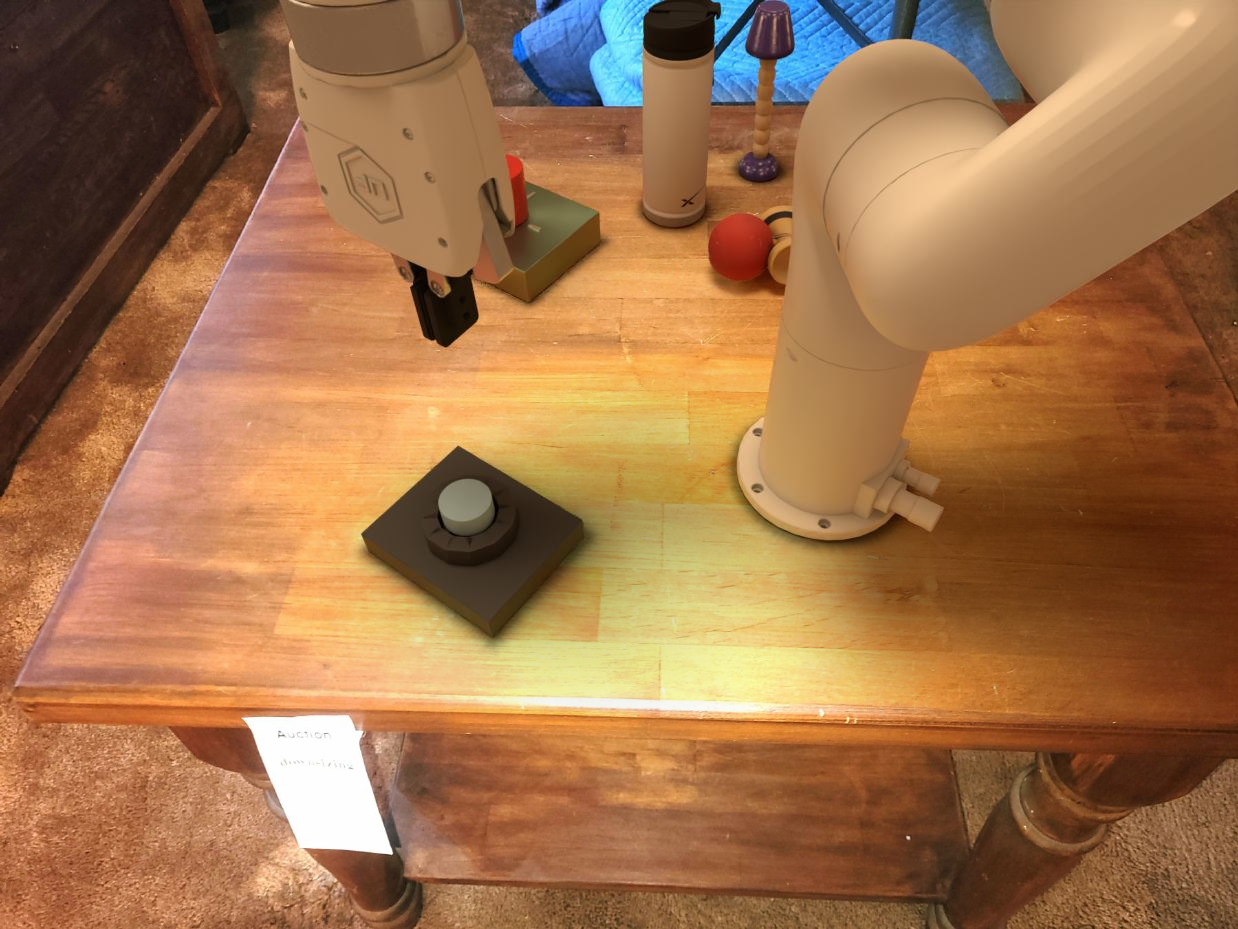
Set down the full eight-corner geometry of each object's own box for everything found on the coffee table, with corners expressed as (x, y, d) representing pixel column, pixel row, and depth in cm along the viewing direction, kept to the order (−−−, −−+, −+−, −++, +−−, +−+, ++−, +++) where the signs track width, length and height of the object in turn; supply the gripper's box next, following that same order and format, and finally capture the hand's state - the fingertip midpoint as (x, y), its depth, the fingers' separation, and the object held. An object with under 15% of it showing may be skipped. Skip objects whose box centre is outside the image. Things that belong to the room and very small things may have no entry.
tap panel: (601, 242, 85) (599, 210, 83) (528, 303, 80) (524, 270, 77) (493, 195, 91) (488, 163, 88) (418, 249, 85) (410, 217, 83)
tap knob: (538, 211, 83) (532, 160, 79) (507, 234, 81) (500, 183, 77) (503, 195, 85) (496, 145, 81) (472, 218, 82) (463, 167, 78)
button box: (584, 537, 63) (581, 504, 60) (493, 638, 58) (484, 608, 55) (462, 463, 68) (454, 429, 65) (368, 551, 63) (353, 518, 60)
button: (505, 509, 61) (502, 494, 59) (470, 545, 59) (466, 530, 58) (467, 486, 62) (463, 470, 61) (431, 519, 60) (427, 504, 59)
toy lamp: (726, 172, 93) (739, 9, 80) (748, 152, 95) (764, -10, 82) (766, 186, 91) (786, 21, 78) (787, 165, 93) (810, 2, 80)
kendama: (875, 244, 86) (697, 236, 84) (902, 195, 81) (712, 185, 78) (892, 306, 83) (706, 299, 80) (921, 259, 77) (722, 251, 74)
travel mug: (703, 231, 86) (716, 23, 71) (637, 224, 87) (636, 18, 72) (712, 195, 90) (726, -10, 75) (648, 189, 91) (649, -15, 75)
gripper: (197, 8, 39) (319, 319, 53) (445, 96, 33) (508, 419, 48) (321, -51, 43) (405, 254, 57) (563, 19, 37) (590, 339, 51)
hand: (452, 329), depth 52 cm, fingers closed
